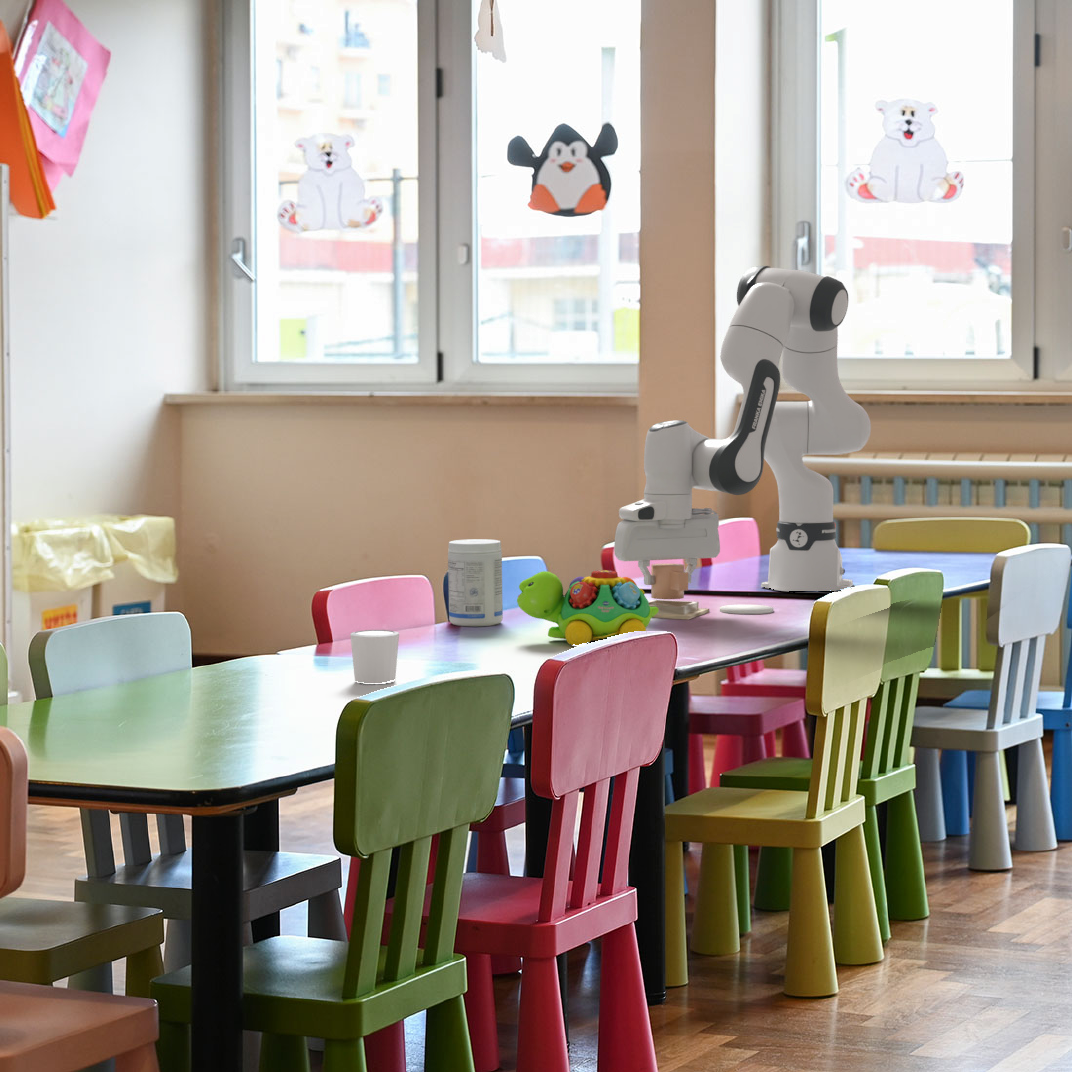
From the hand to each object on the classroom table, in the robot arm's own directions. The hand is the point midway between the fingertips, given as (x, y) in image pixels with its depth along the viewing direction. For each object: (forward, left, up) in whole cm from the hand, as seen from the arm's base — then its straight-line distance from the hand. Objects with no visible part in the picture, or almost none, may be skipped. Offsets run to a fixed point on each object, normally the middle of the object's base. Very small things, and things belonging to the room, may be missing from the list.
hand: (667, 583), depth 318 cm
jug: (+1, +1, -3) cm, 3 cm away
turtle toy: (+39, 0, -6) cm, 39 cm away
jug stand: (0, 0, -6) cm, 6 cm away
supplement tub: (+26, -27, -6) cm, 38 cm away
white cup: (+88, -13, -6) cm, 89 cm away
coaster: (-10, +12, -6) cm, 17 cm away
